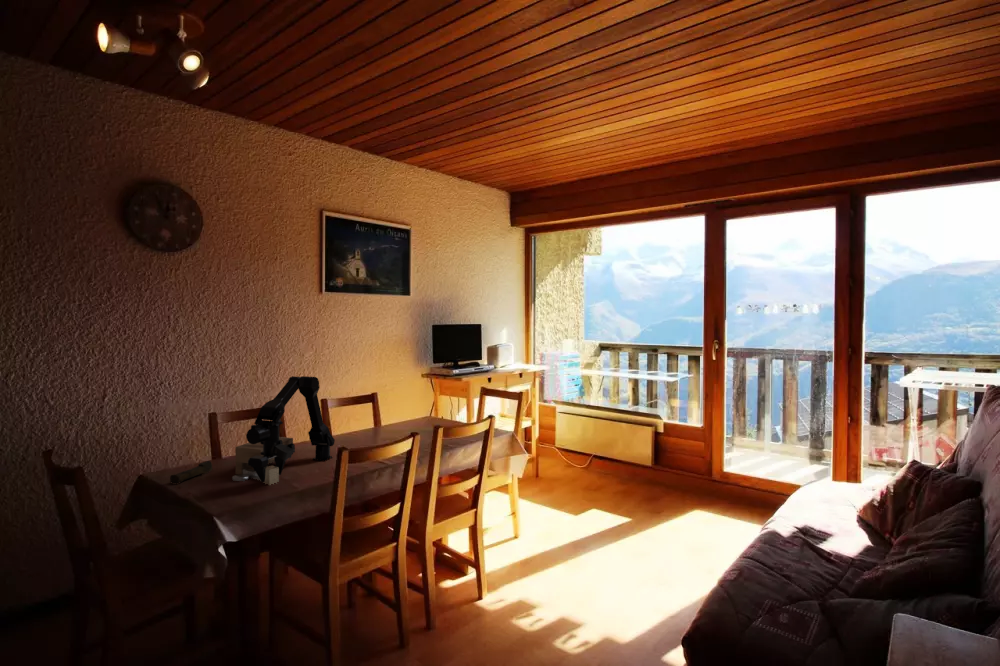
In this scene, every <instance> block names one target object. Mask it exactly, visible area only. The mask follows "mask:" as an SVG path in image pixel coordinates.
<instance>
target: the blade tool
mask: <svg viewBox="0 0 1000 666" xmlns="http://www.w3.org/2000/svg"><path fill="white" fill-rule="evenodd" d="M243 474H248V475H249V477H250V478H249V479H252V478H253V479H252V480H256V479H257V481H259V480H260V478H259V476H258V475H257V473H256V471H255V470H250V469H243ZM279 481H280V475H279V467H276V465H268V467H267V468H266V473H265V482H262V484H263V483H265V484H264V485H266V484H268V485H267V486H272V485H271V484H273V485H275V484H274V483H276V484H278V483H277V482H279ZM259 482H261V480H260V481H259ZM279 483H280V482H279Z"/></svg>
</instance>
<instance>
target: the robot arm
mask: <svg viewBox="0 0 1000 666" xmlns="http://www.w3.org/2000/svg"><path fill="white" fill-rule="evenodd" d="M319 390H320V381H319V378H318V377H317V376H305V375H302V376H290V377H289V378H288V380H287V382H286V383H285V385H284V386H283V387H282V389H280V391H279V392H278V393H277V395H275V397H274V398H273V399H271V400H268V401H267V402H265V403H264V404H263V405H262V406H261V408H260V409H259V412H258V414H257V415H256V416H257V417H256V418H255V421H254V423H253V424H252V425H250V429H248V430H247V431H246V434H245V437H246V440H247V443H250V444H257V443H259V442H261V444H263V451H262V452H261V455H264V456H257V455H256V456H254V457H251V458H249V459H248V466H251V467H253V468H254V470H253V471H256V473H257V475H258V476H259V478H260V480H261V481H260V482H261V483H263V482H265V473H266V468H267V467H268V466H269V464H268V460H269V459H272V458H274V460H275V462H274V463H275V464H274V465H275V466H276V467H279V476H281V475H282V472H283V470H284V467H285V464H286V461H287V460H288V459H290V458H292V455H294V453H295V452H296V446H295V444H294V442H293V443H291V444H288V445H283V443H282V440H280V439H279V437H280V425H283V421H282V420H281V418H282V417H283V415H284V413H285V407H286V406H287V404H288V403H289V401H290V400H291V399H292V398H293V396H294V395H295V393H297V391H299V393H300V394H301V395H302V396H303V397H304V399H305V403H306V407H307V411H308V416H309V421H310V425H311V427H310V429H309V431H308V432H307V435H308V437H309V441H310V444H311V446H315V449H314V451H315V457H313V458H312V460H313V459H316V460H315V461H320V460H326V461H328V460H330V459H329V458H331V459H333V458H332V456H333V455H331V447H334V445H335V438H334V436H333V435H332V434H331V431H330V428H329V427H328V426H327V425H326V424H325V423H324V419H323V414H322V410H321V406H320V401H319V398H318V394H319V393H318V392H319ZM327 459H328V460H327ZM267 464H268V465H267Z"/></svg>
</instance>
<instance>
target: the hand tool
mask: <svg viewBox="0 0 1000 666" xmlns="http://www.w3.org/2000/svg"><path fill="white" fill-rule="evenodd" d="M212 470H213V464H212V462H211V461H210V460H206V461H203V462H201V463H200V462H199V464H198V466H195V467H193V468H190V469H188V470H185V471H181V472H179V473H176V474H171V475H170V477H169V482H170V483H171V482H172V483H178V484H180V483H179V482H181V483H182V482H184V481H187V480H189V479H192V478H194V477H197V476H199V475H201V474H203V475H206V474H208V473H210V472H211V471H212ZM209 471H210V472H209ZM207 472H208V473H207ZM205 473H206V474H205Z"/></svg>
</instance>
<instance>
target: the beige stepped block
mask: <svg viewBox="0 0 1000 666" xmlns="http://www.w3.org/2000/svg"><path fill="white" fill-rule="evenodd" d="M279 439H280V440H282V443H283V445H288V444H291V443H293V444H294V437H284V436H279ZM262 451H263V444H261V442H259V443H257V444H250V443H249V442H247V443H243V444H240V445H238V446H237V445H236V446H235V453H234V454H235V475H239V474H243V469H250V470H253V471H255V470H254V468H253V467H251V466H248V459H249V458H251V457H254V456H256V455H257V456H264V455H261V452H262ZM272 462H273V463H275V460H274V458H272V459H269V460H268V465H270V464H272ZM269 463H270V464H269Z"/></svg>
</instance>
